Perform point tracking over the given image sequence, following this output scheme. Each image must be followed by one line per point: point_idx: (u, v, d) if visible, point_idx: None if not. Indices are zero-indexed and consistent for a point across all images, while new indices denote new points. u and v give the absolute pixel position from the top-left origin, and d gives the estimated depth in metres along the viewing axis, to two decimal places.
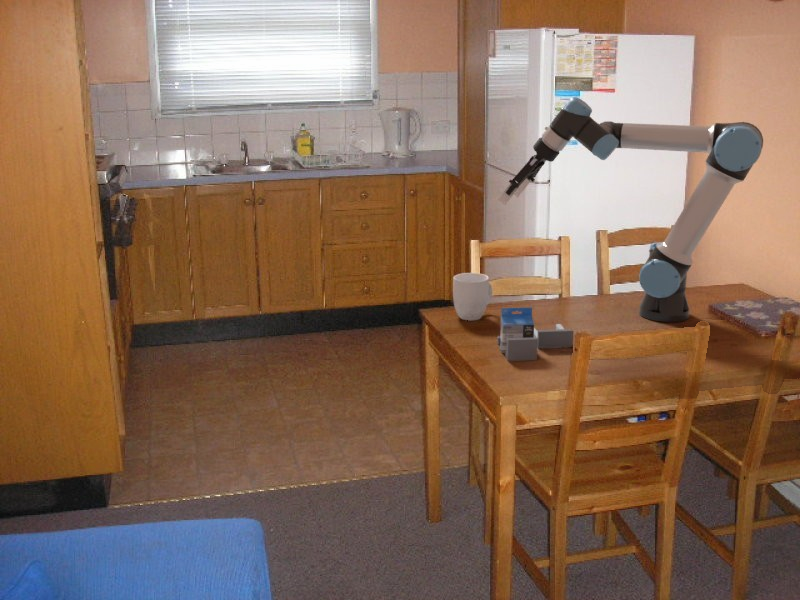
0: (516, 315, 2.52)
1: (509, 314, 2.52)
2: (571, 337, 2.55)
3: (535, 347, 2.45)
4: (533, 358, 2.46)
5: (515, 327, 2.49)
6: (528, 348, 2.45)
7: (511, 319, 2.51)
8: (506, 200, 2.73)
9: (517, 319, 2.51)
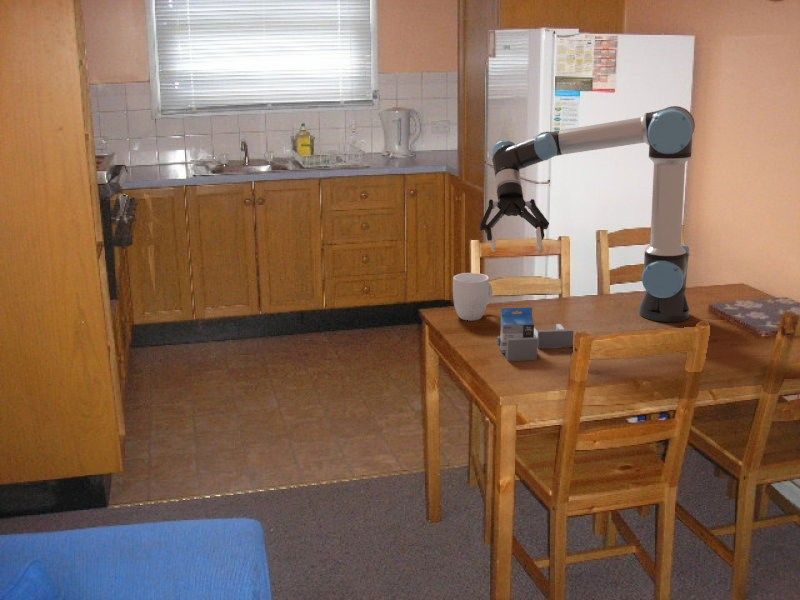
0: (516, 315, 2.52)
1: (509, 314, 2.52)
2: (571, 337, 2.55)
3: (535, 347, 2.45)
4: (533, 358, 2.46)
5: (515, 327, 2.49)
6: (528, 348, 2.45)
7: (511, 319, 2.51)
8: (492, 243, 2.60)
9: (517, 319, 2.51)
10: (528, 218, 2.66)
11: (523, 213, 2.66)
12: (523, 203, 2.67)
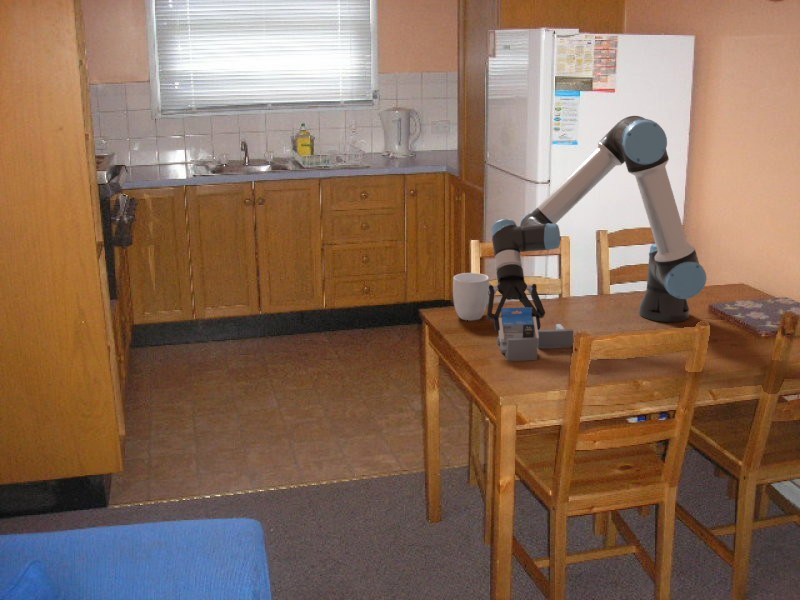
0: (516, 315, 2.52)
1: (509, 314, 2.52)
2: (571, 337, 2.55)
3: (535, 347, 2.45)
4: (533, 358, 2.46)
5: (515, 327, 2.49)
6: (528, 348, 2.45)
7: (511, 319, 2.51)
8: (500, 335, 2.48)
9: (517, 319, 2.51)
10: (525, 304, 2.54)
11: (522, 298, 2.54)
12: (524, 286, 2.56)
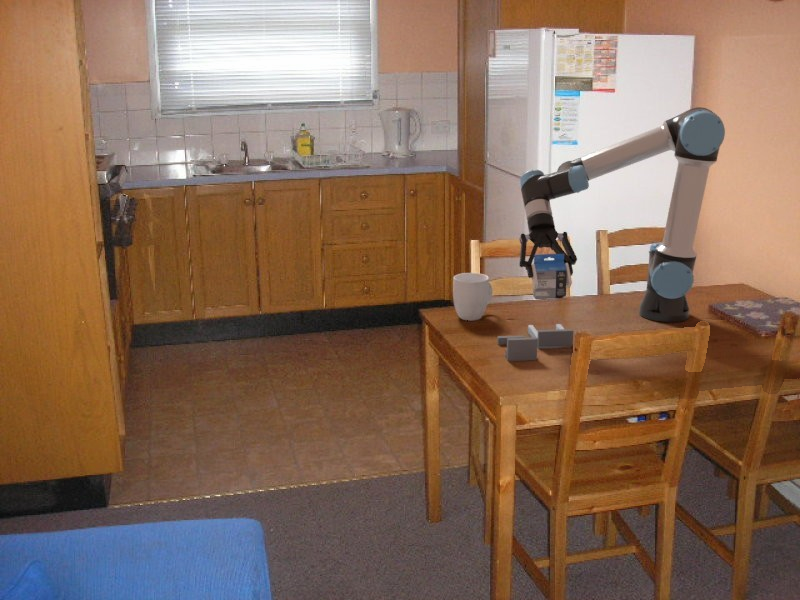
0: (548, 262, 2.56)
1: (541, 261, 2.56)
2: (571, 337, 2.55)
3: (535, 347, 2.45)
4: (533, 358, 2.46)
5: (548, 273, 2.54)
6: (528, 348, 2.45)
7: (543, 266, 2.55)
8: (534, 281, 2.53)
9: (550, 265, 2.55)
10: (557, 251, 2.59)
11: (553, 246, 2.59)
12: (555, 234, 2.60)
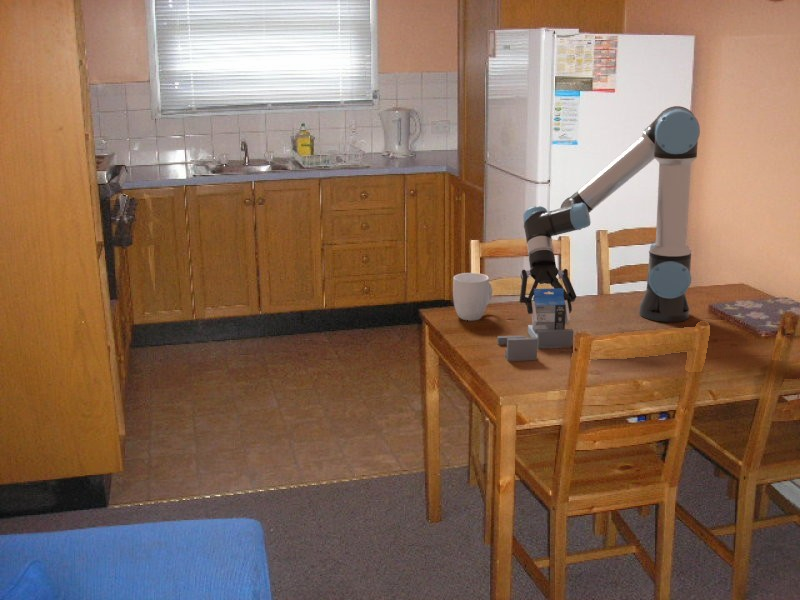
0: (548, 296, 2.61)
1: (541, 295, 2.61)
2: (571, 337, 2.55)
3: (535, 347, 2.45)
4: (533, 358, 2.46)
5: (547, 307, 2.58)
6: (528, 348, 2.45)
7: (543, 300, 2.60)
8: (533, 317, 2.57)
9: (549, 299, 2.60)
10: (557, 288, 2.63)
11: (553, 282, 2.63)
12: (555, 271, 2.65)
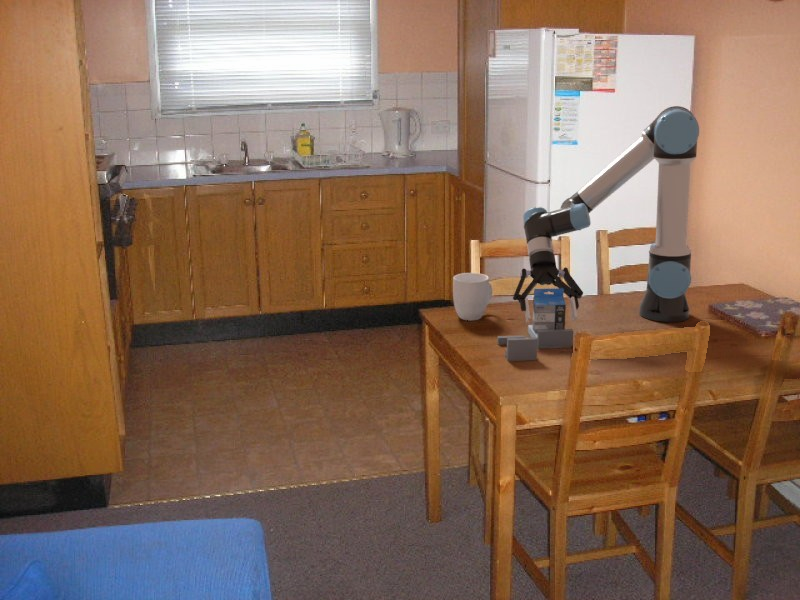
0: (548, 296, 2.61)
1: (541, 295, 2.61)
2: (571, 337, 2.55)
3: (535, 347, 2.45)
4: (533, 358, 2.46)
5: (547, 307, 2.58)
6: (528, 348, 2.45)
7: (543, 300, 2.60)
8: (527, 314, 2.58)
9: (549, 299, 2.60)
10: (561, 287, 2.63)
11: (557, 282, 2.64)
12: (556, 272, 2.65)
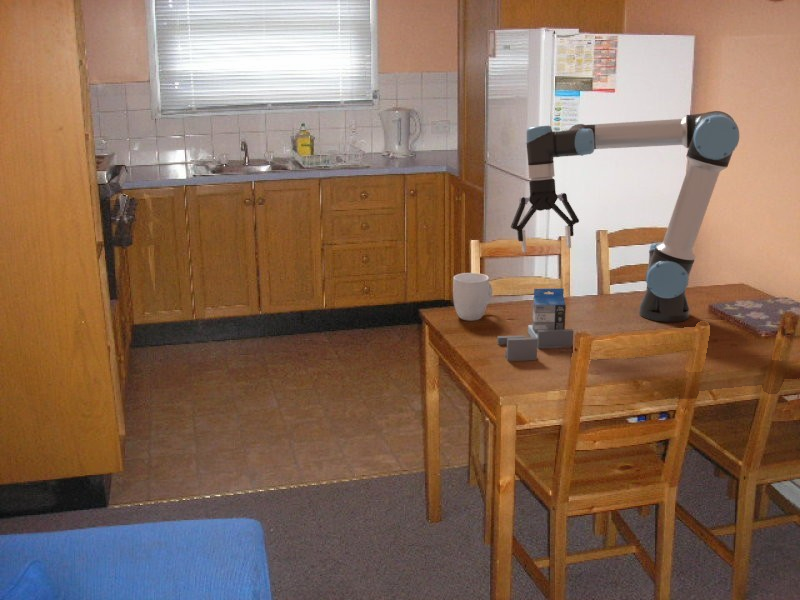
0: (548, 296, 2.61)
1: (541, 295, 2.61)
2: (571, 337, 2.55)
3: (535, 347, 2.45)
4: (533, 358, 2.46)
5: (547, 307, 2.58)
6: (528, 348, 2.45)
7: (543, 300, 2.60)
8: (523, 247, 2.71)
9: (549, 299, 2.60)
10: (558, 214, 2.71)
11: (554, 209, 2.70)
12: (555, 199, 2.69)
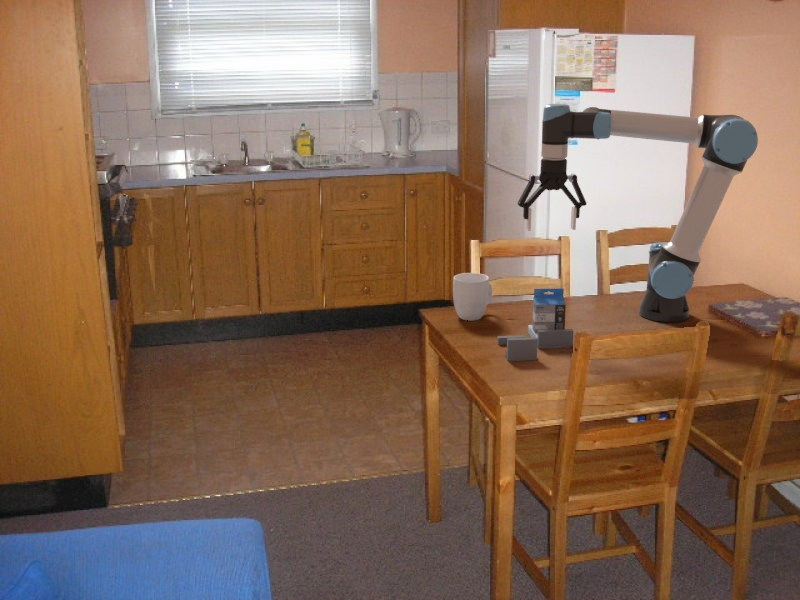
0: (548, 296, 2.61)
1: (541, 295, 2.61)
2: (571, 337, 2.55)
3: (535, 347, 2.45)
4: (533, 358, 2.46)
5: (547, 307, 2.58)
6: (528, 348, 2.45)
7: (543, 300, 2.60)
8: (528, 225, 2.69)
9: (549, 299, 2.60)
10: None
11: (563, 190, 2.67)
12: (565, 180, 2.66)
